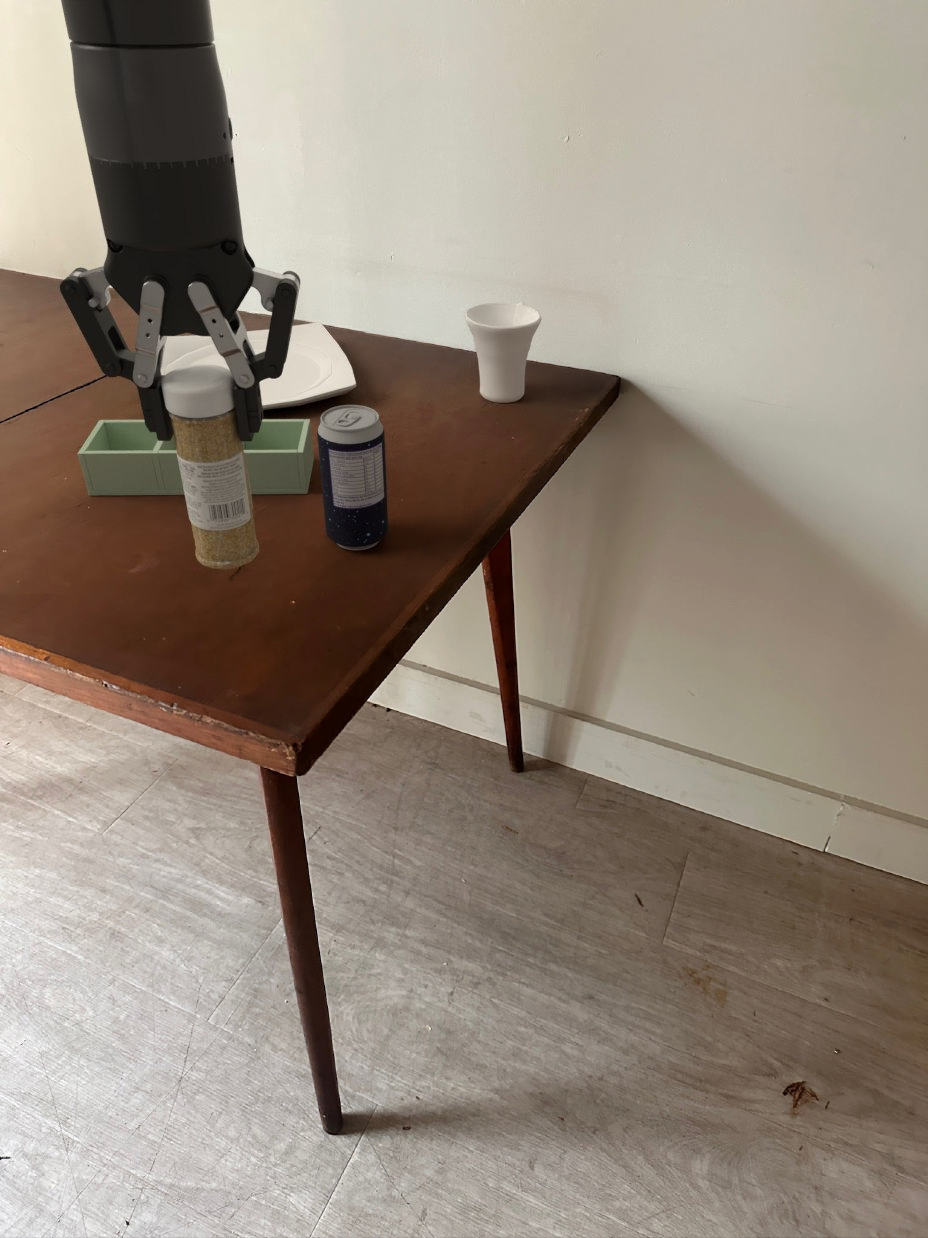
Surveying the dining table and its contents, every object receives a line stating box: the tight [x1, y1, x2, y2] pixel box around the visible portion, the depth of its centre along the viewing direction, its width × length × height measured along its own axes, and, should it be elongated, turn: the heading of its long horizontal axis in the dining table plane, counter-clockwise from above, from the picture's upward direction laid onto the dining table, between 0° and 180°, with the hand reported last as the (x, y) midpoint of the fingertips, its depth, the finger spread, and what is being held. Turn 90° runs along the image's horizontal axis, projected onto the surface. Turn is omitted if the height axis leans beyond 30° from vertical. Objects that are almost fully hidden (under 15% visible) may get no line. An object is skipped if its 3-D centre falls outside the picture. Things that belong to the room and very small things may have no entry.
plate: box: [160, 322, 357, 412], centre depth 107 cm, size 24×24×3 cm
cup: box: [464, 301, 542, 404], centre depth 104 cm, size 9×9×10 cm
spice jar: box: [161, 365, 260, 570], centre depth 58 cm, size 5×5×13 cm
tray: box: [77, 418, 315, 497], centre depth 87 cm, size 21×8×5 cm, turn 93°
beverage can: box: [316, 404, 389, 551], centre depth 76 cm, size 6×6×12 cm
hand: (208, 434), depth 57 cm, fingers closed on spice jar, 4 cm apart
